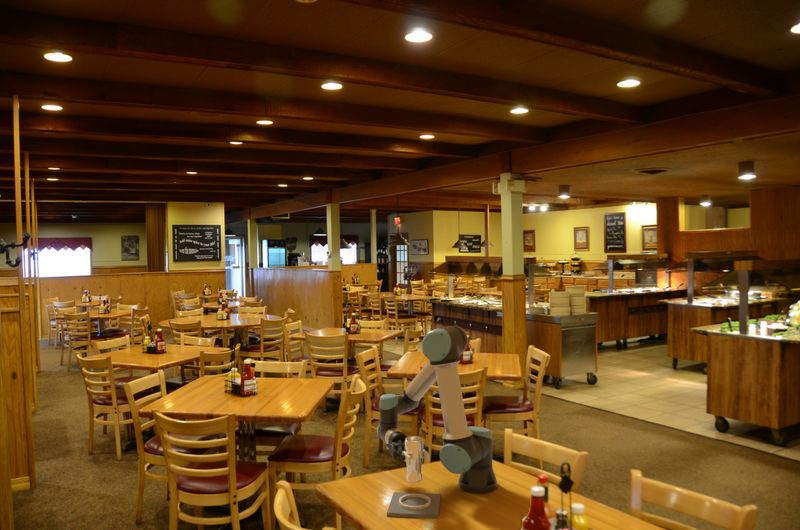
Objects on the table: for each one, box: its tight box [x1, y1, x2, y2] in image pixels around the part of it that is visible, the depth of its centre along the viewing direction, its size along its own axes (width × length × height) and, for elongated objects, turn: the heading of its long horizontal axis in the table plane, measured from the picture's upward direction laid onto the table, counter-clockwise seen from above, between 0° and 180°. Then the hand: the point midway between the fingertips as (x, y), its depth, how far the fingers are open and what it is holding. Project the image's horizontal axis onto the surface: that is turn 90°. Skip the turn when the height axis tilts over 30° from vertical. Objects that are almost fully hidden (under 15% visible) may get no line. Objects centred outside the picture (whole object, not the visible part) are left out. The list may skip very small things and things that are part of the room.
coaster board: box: [386, 491, 442, 519], centre depth 215 cm, size 18×18×2 cm
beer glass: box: [404, 435, 424, 483], centre depth 215 cm, size 7×7×15 cm
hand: (419, 459), depth 210 cm, fingers closed on beer glass, 7 cm apart
